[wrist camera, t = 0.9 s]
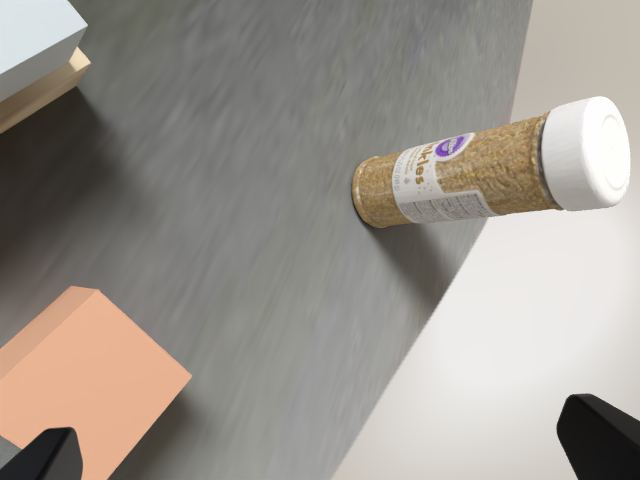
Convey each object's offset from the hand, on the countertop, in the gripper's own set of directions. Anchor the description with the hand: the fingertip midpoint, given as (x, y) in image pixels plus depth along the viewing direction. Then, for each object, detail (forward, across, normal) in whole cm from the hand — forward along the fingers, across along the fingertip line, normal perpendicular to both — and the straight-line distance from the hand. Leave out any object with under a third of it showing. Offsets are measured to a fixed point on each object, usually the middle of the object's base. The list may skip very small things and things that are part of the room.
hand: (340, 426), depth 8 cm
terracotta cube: (+9, +9, +6) cm, 14 cm away
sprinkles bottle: (+21, -6, +3) cm, 22 cm away
